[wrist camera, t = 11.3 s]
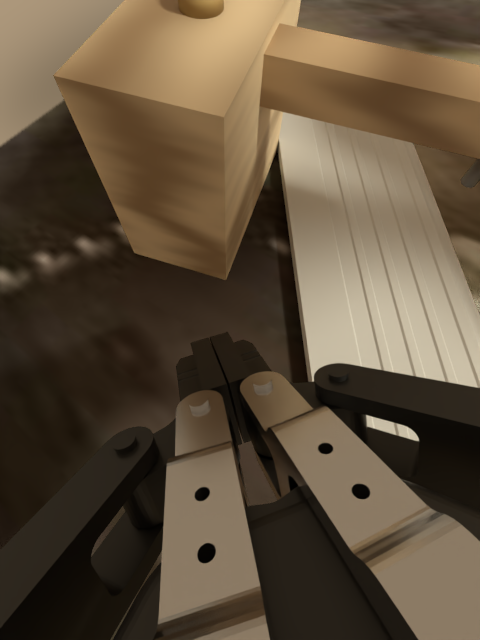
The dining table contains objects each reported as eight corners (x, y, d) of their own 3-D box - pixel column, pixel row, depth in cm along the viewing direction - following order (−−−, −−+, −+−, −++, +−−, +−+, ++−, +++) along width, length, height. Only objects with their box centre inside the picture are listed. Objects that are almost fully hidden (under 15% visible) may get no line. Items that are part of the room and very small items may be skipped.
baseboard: (402, 96, 28) (268, 95, 27) (420, 58, 25) (272, 56, 25) (561, 490, 16) (320, 504, 15) (629, 496, 13) (339, 513, 12)
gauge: (437, 190, 23) (599, -16, 13) (425, 339, 18) (665, 194, 8) (202, 131, 24) (184, -92, 14) (134, 253, 20) (40, 47, 10)
